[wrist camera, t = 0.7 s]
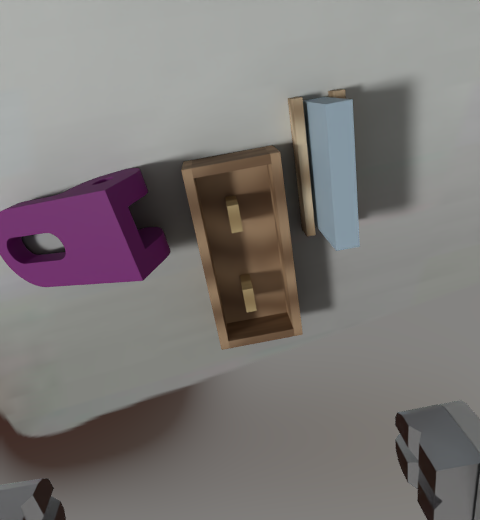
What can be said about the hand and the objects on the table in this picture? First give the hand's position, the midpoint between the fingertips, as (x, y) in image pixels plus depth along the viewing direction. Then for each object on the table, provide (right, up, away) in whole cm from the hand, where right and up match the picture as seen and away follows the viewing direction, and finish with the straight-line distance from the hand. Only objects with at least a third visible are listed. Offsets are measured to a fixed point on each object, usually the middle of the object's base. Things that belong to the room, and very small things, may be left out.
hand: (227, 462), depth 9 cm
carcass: (+1, +7, +40) cm, 40 cm away
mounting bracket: (-18, +9, +37) cm, 42 cm away
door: (+9, +16, +37) cm, 41 cm away
